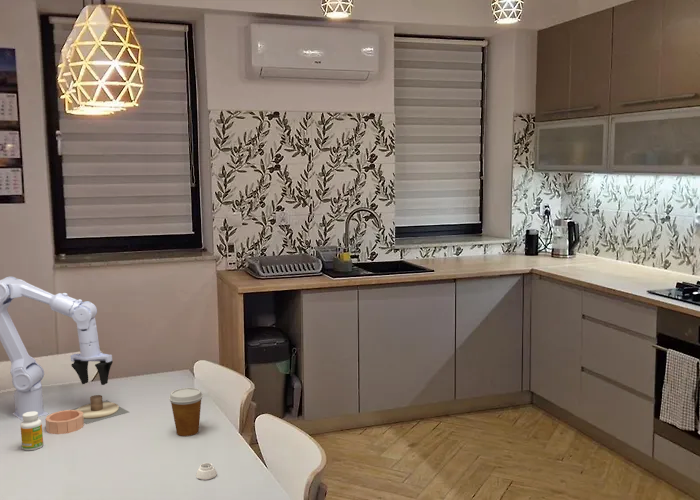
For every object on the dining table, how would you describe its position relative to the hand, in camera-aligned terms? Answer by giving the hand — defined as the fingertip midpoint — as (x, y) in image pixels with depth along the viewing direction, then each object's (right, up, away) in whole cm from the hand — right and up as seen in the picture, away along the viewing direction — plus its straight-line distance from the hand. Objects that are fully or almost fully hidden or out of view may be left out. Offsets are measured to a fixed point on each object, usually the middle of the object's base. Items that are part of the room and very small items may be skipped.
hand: (94, 383), depth 223 cm
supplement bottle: (-9, -13, -24) cm, 29 cm away
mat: (0, -10, +2) cm, 10 cm away
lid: (0, -9, +2) cm, 9 cm away
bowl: (-5, -11, -11) cm, 16 cm away
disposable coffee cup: (+33, -12, -15) cm, 38 cm away
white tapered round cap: (+44, -15, -44) cm, 64 cm away
